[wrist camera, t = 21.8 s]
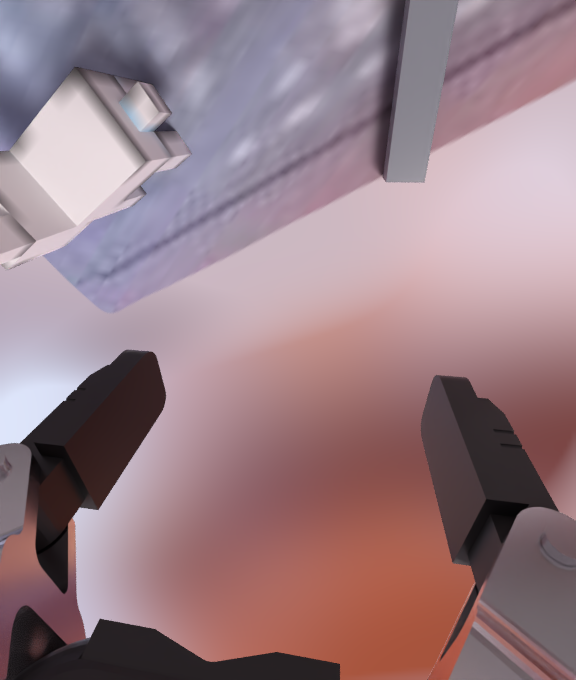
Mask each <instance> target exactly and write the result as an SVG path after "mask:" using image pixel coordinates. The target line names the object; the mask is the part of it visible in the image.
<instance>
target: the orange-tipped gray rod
mask: <svg viewBox="0 0 576 680" xmlns="http://www.w3.org/2000/svg"><path fill="white" fill-rule="evenodd" d="M458 1H459V0H405V7H404V15H403V22H402V30H401V38H400V46H399V54H398V62H397V70H396V78H395V85H394V93H393V101H392V109H391V117H390V125H389V133H388V140H387V148H386V156H385V164H384V172H383V179H384V180H385V181H386V182H424V181H425V176H426V171H427V166H428V160H429V155H430V150H431V144H432V139H433V134H434V129H435V123H436V118H437V113H438V107H439V102H440V97H441V91H442V86H443V81H444V75H445V70H446V65H447V59H448V54H449V49H450V43H451V38H452V33H453V28H454V22H455V17H456V12H457V6H458Z"/></svg>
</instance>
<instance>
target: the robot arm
mask: <svg viewBox="0 0 576 680" xmlns="http://www.w3.org/2000/svg"><path fill="white" fill-rule="evenodd" d="M165 400H166V392H165V387H164V383H163V380H162V376H161V372H160V368H159V365H158V361H157V358H156V355H155V354H154V353H153V352H149V351H136V350H125V351H124V352H122V353H121V354H120V355H119V356H118V357H117V358H116V359H115V360H114V361H113V362H112V363H111V364H110V365H107V366H105V367H103V368H102V369H100V370H98V371H97V372H95V373H93V374H91V375H90V376H89V377H88V378H87V379H86V380H85V381H84V382H83V383H81V384H80V385H79V387H78V388H77V390H74V391H73V392H72V393H71V394H70V395H69V396H68V397H67V399H66V401H63V402H62V403H61V404H60V405H59V406H58V407H57V408H56V409H55V410H54V411H53V412H52V413H51V414H50V415H48V417H46V418H45V419H44V420H43V421H42V422H41V423H40V424H39V425H38V426H37V427H36V428H35V429H34V430H33V431H32V432H31V433H30V434H29V435H28V436H27V437H26V438H25V439H24V440H23V441H22V442H21V443H19V444H18V443H11V444H5V445H0V680H340V664H337V663H332V662H327V661H321V660H316V659H311V658H306V657H300V656H294V655H290V654H284V653H279V652H275V653H268V654H262V655H256V656H250V657H243V658H237V659H231V660H225V661H218V662H209V661H205V660H203V659H202V658H200V657H198V656H197V655H195V654H194V653H192V652H190V651H189V650H187V649H186V648H184V647H182V646H181V645H179V644H178V643H176V642H174V641H173V640H171V639H169V638H168V637H167V636H165V635H163V634H162V633H160V632H159V631H157V630H155V629H151V628H146V627H141V626H135V625H130V624H125V623H120V622H114V621H109V620H104V619H100V620H99V622H98V624H97V626H96V628H95V630H94V632H93V634H92V636H91V637H90V638H86V636H85V629H84V624H83V620H82V617H81V614H80V611H79V608H78V603H77V594H76V543H75V542H76V541H75V522H74V520H73V518H72V517H73V516H74V515H75V513H76V512H77V510H78V508H79V507H81V508H88V509H95V510H99V508H100V506H101V505H102V503H103V502H104V500H105V499H106V497H107V496H108V494H109V493H110V491H111V489H112V488H113V486H114V485H115V483H116V482H117V480H118V479H119V477H120V475H121V474H122V472H123V471H124V469H125V468H126V466H127V465H128V463H129V461H130V460H131V458H132V457H133V455H134V454H135V452H136V451H137V449H138V448H139V446H140V445H141V443H142V441H143V440H144V438H145V437H146V435H147V434H148V432H149V431H150V429H151V428H152V426H153V424H154V423H155V421H156V420H157V418H158V417H159V415H160V414H161V412H162V410H163V408H164V404H165ZM421 436H422V441H423V445H424V449H425V453H426V457H427V461H428V465H429V469H430V473H431V477H432V481H433V485H434V489H435V494H436V498H437V502H438V506H439V509H440V513H441V518H442V522H443V526H444V530H445V534H446V538H447V541H448V546H449V550H450V554H451V558H452V562H453V563H456V564H462V565H469V566H471V568H472V572H473V575H474V579H475V583H474V585H473V587H472V589H471V591H470V593H469V595H468V597H467V599H466V601H465V603H464V605H463V608H462V610H461V612H460V614H459V616H458V618H457V620H456V622H455V624H454V626H453V628H452V631H451V633H450V635H449V637H448V639H447V641H446V643H445V645H444V647H443V649H442V652H441V654H440V656H439V658H438V660H437V662H436V664H435V666H434V668H433V670H432V672H431V674H430V675H429V677H428V679H427V680H576V521H575V520H574V519H572V518H570V517H568V516H566V515H565V514H563V513H560V512H559V511H558V509H557V507H556V506H555V504H554V502H553V500H552V498H551V497H550V495H549V493H548V491H547V489H546V488H545V486H544V484H543V482H542V481H541V479H540V477H539V475H538V473H537V471H536V470H535V468H534V466H533V464H532V462H531V461H530V459H529V457H528V455H527V453H526V452H525V450H524V449H522V445H521V443H520V441H519V439H518V437H517V436H516V435H515V434H514V430H513V428H512V427H511V425H510V423H509V422H508V419H507V418H506V416H505V414H504V413H503V412H502V411H500V409H498V408H497V407H496V406H495V405H494V404H493V403H492V402H491V401H490V400H489V399H485V398H477V396H476V394H475V392H474V390H473V388H472V385H471V383H470V381H469V380H468V379H467V378H465V377H453V376H440V375H436V376H435V377H434V378H433V381H432V384H431V387H430V391H429V394H428V398H427V402H426V405H425V408H424V412H423V416H422V421H421Z"/></svg>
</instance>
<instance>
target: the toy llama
mask: <svg viewBox="0 0 576 680" xmlns="http://www.w3.org/2000/svg"><path fill="white" fill-rule="evenodd" d="M171 114H172V112H171V111H170V110H169V108H168V107H167V105H166V104H165V102H164V101H163V99H162V98H161V96H160V95H159V93H158V92H157V90H156V89H155V87H154V86H153V85H152V84H147V83H143V82H141V81H136V80H132V79H127V78H123V77H118V76H114V75H110V74H105V73H101V72H96V71H92V70H87V69H83V68H79V67H74V69H73V70H72V71H71V72H70V74H69V75H68V76H67V77H66V79H65V80H64V81H63V83H62V84H61V85H60V86H59V88H58V89H57V90H56V92H55V93H54V94H53V95H52V97H51V98H50V99H49V100H48V102H47V103H46V104H45V106H44V107H43V108H42V109H41V111H40V112H39V113H38V115H37V116H36V117H35V118H34V120H33V121H32V122H31V123H30V125H29V126H28V127H27V129H26V130H25V131H24V132H23V134H22V135H21V136H20V138H19V139H18V140H17V141H16V143H15V144H14V145H13V146H12V148H11V149H10V150H9V151H0V264H1V265H2V266H3V267H4V268H5V269H6V270H9V269H12V268H14V267H16V266H19V265H21V264H23V263H26V262H28V261H30V260H33V259H35V258H38V257H40V256H43V255H45V254H47V253H50V252H52V251H54V250H57V249H59V248H62V247H64V246H66V245H67V244H68V243H69V242H71V241H72V240H73V239H74V238H75V237H76V236H77V235H78V234H79V233H80V232H81V231H82V230H84V229H85V228H86V227H87V226H88V225H89V224H90V223H91V222H92V221H93V220H96V219H98V218H101V217H104V216H107V215H109V214H112V213H115V212H118V211H120V210H123V209H126V208H128V207H131V206H133V205H135V204H136V203H137V202H138V201H139V200H140V199H141V198H142V197H144V196H145V195H146V192H145V191H144V190H143V188H142V187H141V185H142V184H143V183H144V182H145V181H146V180H147V179H148V178H150V177H151V176H152V175H153V174H154V173H156V172H161V171H165V170H169V169H173V168H177V167H178V166H179V165H180V164H181V163H182V162H183V161H184V160H186V159H187V158H188V157H189V156H190V155H191V154H192V153H191V152H190V150H189V149H188V147H187V146H186V144H185V143H184V141H183V140H182V138H181V137H180V135H179V134H178V133H177V131H157V132H154V131H155V130H156V129H157V128H158V127H159V126H160V125H161V124H162V123H163V122H164V121H165V120H166V119H167V118H168V117H169V116H170V115H171Z"/></svg>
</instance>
